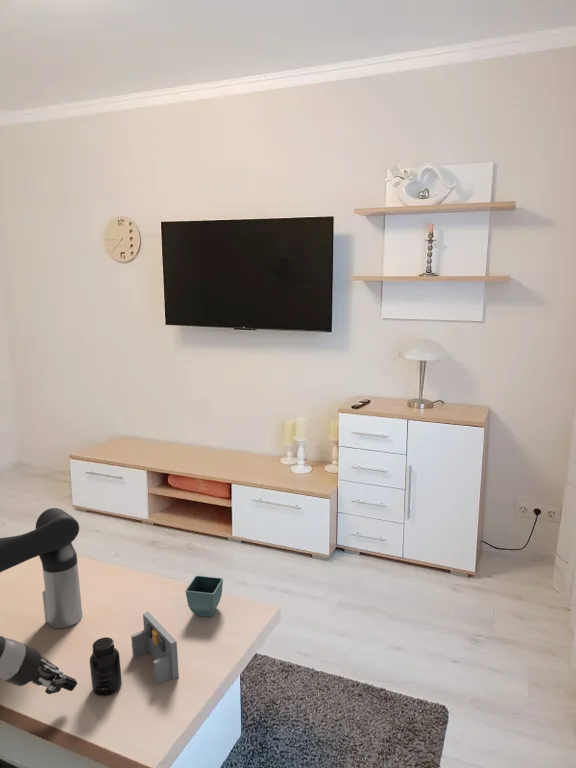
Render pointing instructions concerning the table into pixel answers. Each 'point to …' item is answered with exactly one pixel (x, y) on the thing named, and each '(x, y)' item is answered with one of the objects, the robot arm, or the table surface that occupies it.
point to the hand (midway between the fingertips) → (74, 685)
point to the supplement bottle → (105, 667)
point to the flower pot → (204, 595)
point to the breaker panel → (157, 648)
